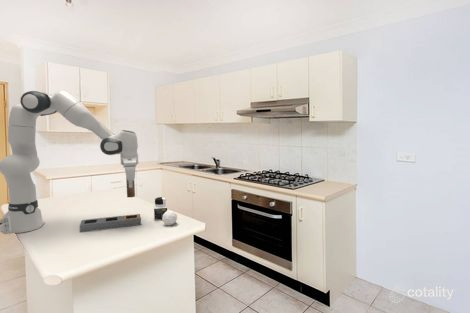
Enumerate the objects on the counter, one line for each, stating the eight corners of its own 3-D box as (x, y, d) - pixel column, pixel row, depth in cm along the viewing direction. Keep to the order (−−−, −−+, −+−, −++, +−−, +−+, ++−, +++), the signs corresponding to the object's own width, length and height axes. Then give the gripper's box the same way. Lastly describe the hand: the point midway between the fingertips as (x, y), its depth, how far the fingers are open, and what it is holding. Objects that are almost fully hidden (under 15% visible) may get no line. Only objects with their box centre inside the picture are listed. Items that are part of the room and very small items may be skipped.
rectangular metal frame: (80, 232, 142) (79, 224, 142) (82, 226, 151) (81, 219, 150) (141, 224, 153) (140, 218, 153) (140, 220, 161) (139, 213, 161)
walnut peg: (125, 196, 153) (124, 174, 152) (131, 195, 157) (130, 173, 156) (130, 197, 152) (129, 175, 150) (136, 196, 155) (135, 174, 154)
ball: (169, 228, 156) (172, 214, 160) (178, 226, 151) (181, 211, 155) (157, 224, 152) (161, 209, 156) (166, 221, 147) (169, 207, 151)
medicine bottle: (154, 220, 160) (153, 199, 159) (154, 216, 167) (153, 196, 166) (167, 219, 162) (166, 198, 161) (166, 215, 169) (166, 196, 168)
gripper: (123, 159, 161) (124, 183, 162) (123, 163, 142) (124, 190, 143) (134, 158, 163) (135, 182, 164) (136, 162, 144) (137, 189, 146)
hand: (130, 186), depth 154 cm, fingers closed on walnut peg, 4 cm apart
